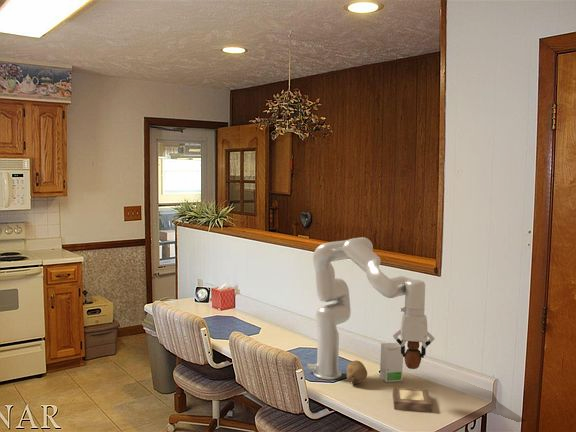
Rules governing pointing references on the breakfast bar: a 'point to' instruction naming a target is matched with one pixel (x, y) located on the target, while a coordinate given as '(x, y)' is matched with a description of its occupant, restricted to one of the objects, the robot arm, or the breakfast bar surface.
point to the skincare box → (391, 362)
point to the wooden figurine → (412, 355)
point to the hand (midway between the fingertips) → (413, 356)
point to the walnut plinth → (412, 399)
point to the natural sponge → (356, 372)
